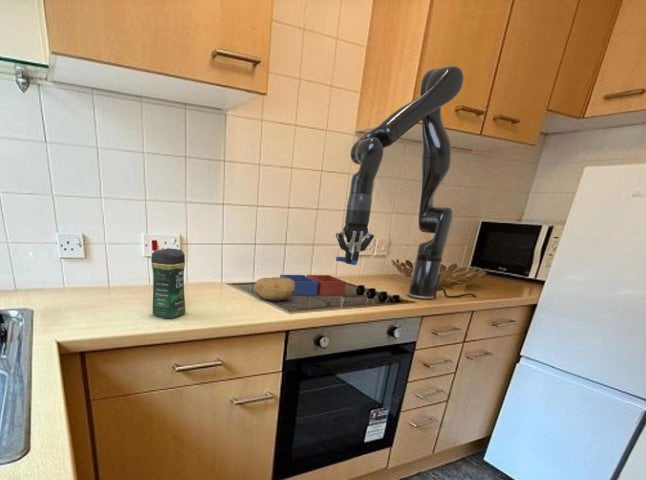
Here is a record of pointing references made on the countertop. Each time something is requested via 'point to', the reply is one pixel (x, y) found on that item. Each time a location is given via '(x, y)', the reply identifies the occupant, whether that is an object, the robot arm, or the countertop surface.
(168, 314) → the coffee jar
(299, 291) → the blue bin
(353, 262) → the blue spoon
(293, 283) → the potato
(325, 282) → the red bin
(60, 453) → the countertop surface
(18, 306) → the countertop surface
